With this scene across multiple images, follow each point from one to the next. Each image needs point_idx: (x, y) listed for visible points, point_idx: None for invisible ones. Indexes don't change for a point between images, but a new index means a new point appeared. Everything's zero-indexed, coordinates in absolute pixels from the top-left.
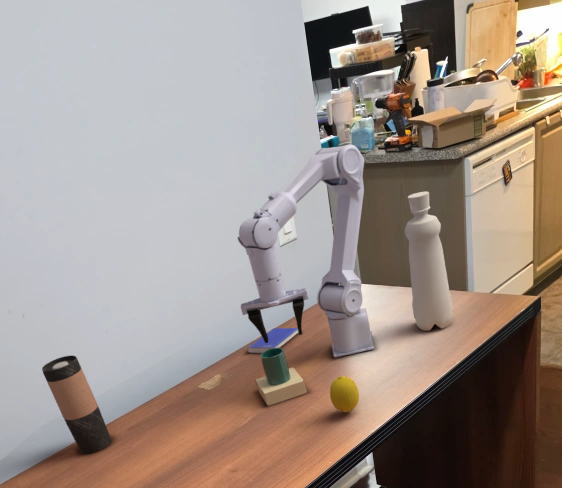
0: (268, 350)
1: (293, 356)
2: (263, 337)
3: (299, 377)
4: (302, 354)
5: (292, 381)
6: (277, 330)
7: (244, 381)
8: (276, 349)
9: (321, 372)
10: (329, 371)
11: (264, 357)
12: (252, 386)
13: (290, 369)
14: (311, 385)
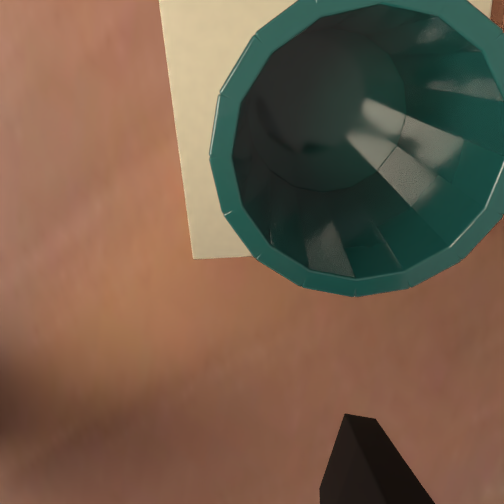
0: (379, 272)
1: (173, 485)
2: (407, 469)
3: (176, 42)
4: (129, 478)
5: (239, 2)
6: None
7: (458, 392)
8: (286, 252)
9: (55, 218)
10: (9, 199)
11: (501, 67)
12: (443, 308)
13: (214, 236)
14: (130, 75)
